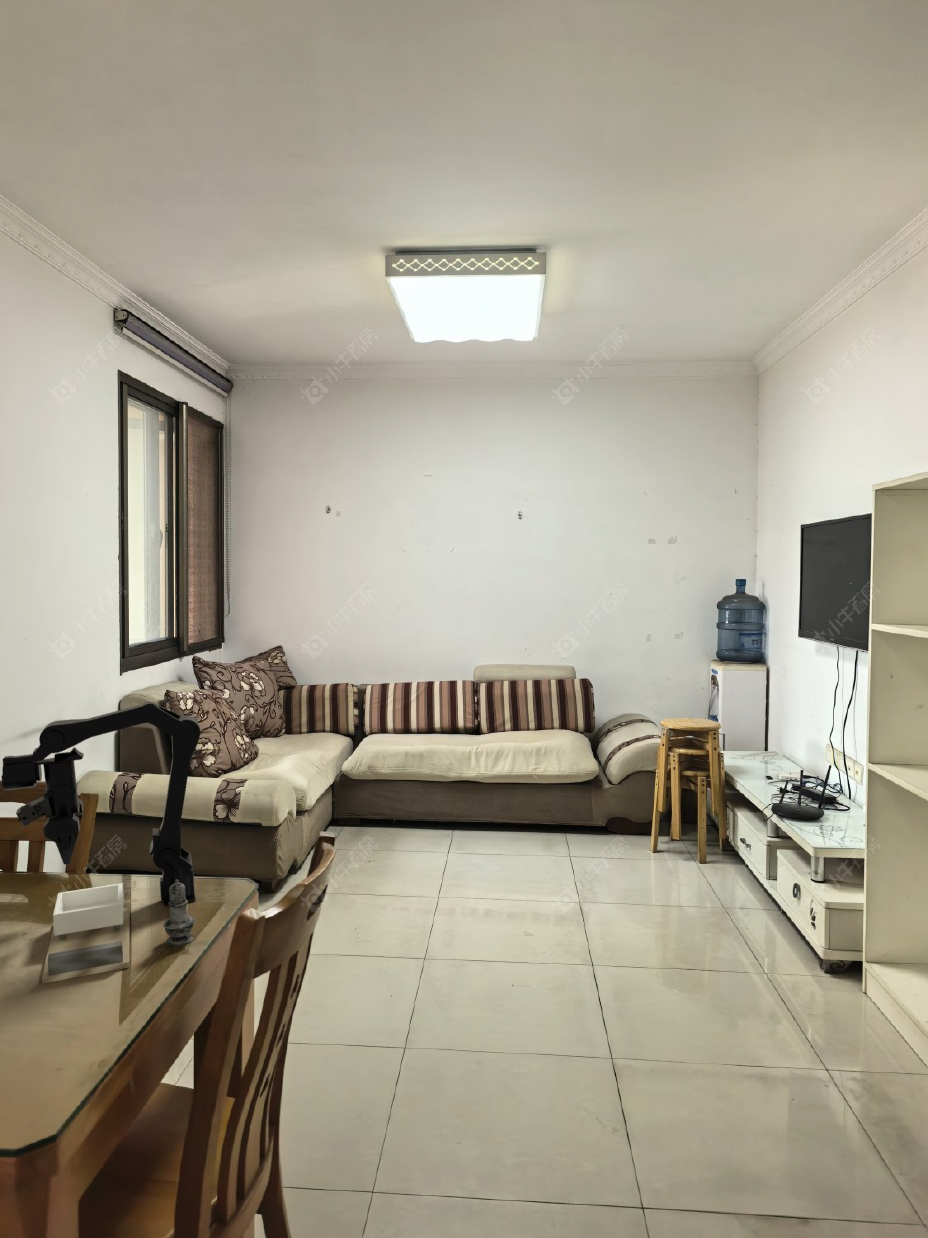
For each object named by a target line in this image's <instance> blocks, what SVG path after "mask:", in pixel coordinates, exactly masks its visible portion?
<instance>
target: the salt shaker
mask: <svg viewBox="0 0 928 1238" xmlns="http://www.w3.org/2000/svg"><path fill="white" fill-rule="evenodd" d="M178 881H179V880H178V879H176V881H175V882H176V883H174V884H173V885H171V886H170V889H169V892H170V902H169V903H168V905H167V906H168V907H169V917H168V918H167V919H166V920H165V921H164V922H163V923H162V927H163V928H164V930H165V931H164V932H165V933H166V934H167V935H168V936H169V937H167V939H166V940H165V945H166V944H167V946H169V947H180V945H181V946H184V945H183V944H185V945H187V944H186V943H188V942H190V941H192V940H193V939H194V940H195V935H194V934H192V933H191V931H192V930H193V927H194V923H195V922H196V919H195V917H193V916H191V915H188V911H187V904H188V903H189V902H188V900H187V899H186V898H185V886H184V884H182V883H179V882H178ZM194 940H193V941H194ZM193 941H192V942H193ZM190 943H191V942H190ZM188 944H189V943H188Z"/></svg>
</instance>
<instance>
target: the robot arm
mask: <svg viewBox="0 0 928 1238" xmlns="http://www.w3.org/2000/svg"><path fill="white" fill-rule="evenodd" d="M146 723H149V724H151V725H153V726H154V727H155V728H158V729H159V730H160V731H162V732H163V733H166V734H168V735H169V736H171V745H172V746H171V750H172V751H171V752H172V755H171V756H172V759H171V766H170V767H171V768H170V772H169V780H168V784H167V793H166V798H165V805H164V810H163V812H164V813H163V817H162V822H161V824H160V827H158V828H156V827H153V828H152V840H151V842H150V845H149V856H152V862H153V864H154V865H155V867H156V868H158V869H159V870H162V871H161V872H162V877H160V878H159V892H160V901H161V902H163V906H164V907H165V906H169V905H168V903H169V902H170V892H169V889H170V886H171V885H173V884H174V883H176V882H175V881H176V879H178V880H179V881H178V882H179V883H182V884H184V886H185V898H186V899H187V900H188V902H187V903H190V902H195V901H196V900H197V898H196V891H195V879H194V878H195V877H194V875H195V874H194V868H193V862H192V854H191V853H190V851H188V850H186V849H185V848H184V847H182V836H181V833H182V832H181V823H182V815H183V811H184V802H185V797H186V791H187V783H188V778H189V771H190V766H191V765H190V763H191V762H192V758H193V756H194V754H195V751H196V749H197V745H198V743H199V740H200V737H201V728H200V725H199V723H198V720H197V719H196V718H195V717H193V716H191V715H180V714H178V713H176V712H175V711H172V710H170V709H167V708H165V707H163V706H160V705H159V704H158V703H156V702H155V701H146V702H143V703H142V704H137V705H135V706H129V707H126V708H123V709H119V710H116V711H112V712H111V711H110V712H108V713H104V714H101V715H96V716H93V717H88V718H78V719H76V718H75V719H74V718H71V719H63V720H54V721H52V722H49V723H48V724H47V725H46V726H44V728H43V729H42V731H41V732H40V735H39V738H38V739H39V745H38V747H35V749H34V750H33V751H32V753H30V754H22V755H21V754H20V755H5V756H4V757H3V758H2V768H1V770H2V773H1V774H2V775H1V783H2V789H3V791H4V792H6V791H13V790H20V789H27V788H34V787H36V786H37V784H38V782H42V779H43V775H44V782H45V783H44V784H45V790H44V793H43V796H41V797H39V798H36V799H34V800H32V801H30V802H27V803H26V804H24V805H21V806H20V807H19V808H17V810H16V812H15V815H16V817H17V821H18V822H20V824H21V825H22V827H26V826H29V825H30V824H31V823H32V822H34V821H37V820H39V819H40V818H43V817H44V816H45V817H44V818H45V819H47V821H46V822H44V824H43V828H42V829H43V836H44V837H43V838H46V839H47V840H50V841H52V842H53V843H55V846H56V847H57V850H58V852H59V855H60V859H61V861H62V864H63V865H65V866H66V865H70V863H71V860H72V858H73V853H74V850H75V847H76V843H77V841H78V838H79V833H80V830H81V829H80V825H81V822H82V818H83V814H84V803H83V800H82V799H81V798H79V797H78V786H79V785H78V782H77V778H76V777H77V776H76V768H75V761H82V760H83V759H84V756H85V753H83V752H81V750H79V749H77V747H75V746H77V745H79V744H81V743H82V742H84V741H86V740H89V739H90V738H94V737H98V736H101V735H106V734H109V733H112V732H116V731H119V730H123V729H126V728H131V727H134V726H139V725H142V724H146ZM70 748H72V749H71V750H70V751H66V750H68V749H70ZM63 751H66V752H63ZM51 754H54V757H50V758H47V757H49V756H50V755H51ZM42 766H43V771H42ZM43 773H44V774H43Z"/></svg>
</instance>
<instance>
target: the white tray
mask: <svg viewBox="0 0 928 1238" xmlns="http://www.w3.org/2000/svg"><path fill="white" fill-rule="evenodd" d="M123 884H124V883H123V882H120V883H115V884H114V883H113V884H108V885H102V886H96V887H95V886H94V887H88V888H81V889H76V890H70V891H68V890H67V891H63V892H58V894H57V898H56V902H55V906H54V910H53V914H52V915H53V917H52V919H53V926H54V935H55V936H56V935H58V938H59V940H60V939H66V934H67V933H73V932H79V931H85V930H91V929H97V928H102V927H108V926H113V930H118V929H120V924H123V909H124V908H125V906H124V901H125V900H124V885H123Z"/></svg>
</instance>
